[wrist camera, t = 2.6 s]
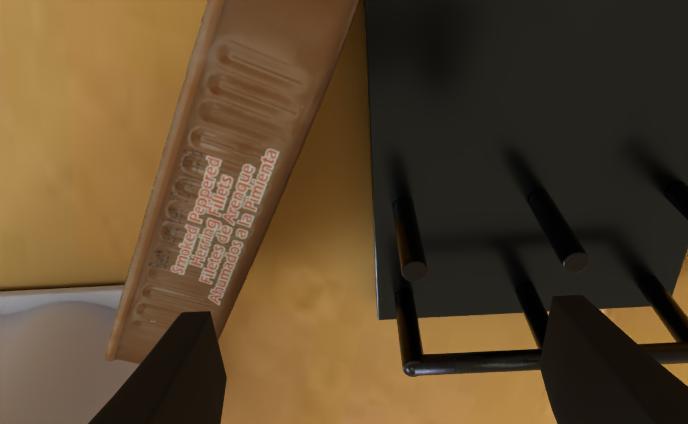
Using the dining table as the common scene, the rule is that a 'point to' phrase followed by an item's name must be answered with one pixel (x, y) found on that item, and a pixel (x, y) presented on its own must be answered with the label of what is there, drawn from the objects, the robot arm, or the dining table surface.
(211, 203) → the tin
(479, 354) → the rack
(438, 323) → the dining table surface
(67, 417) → the robot arm
